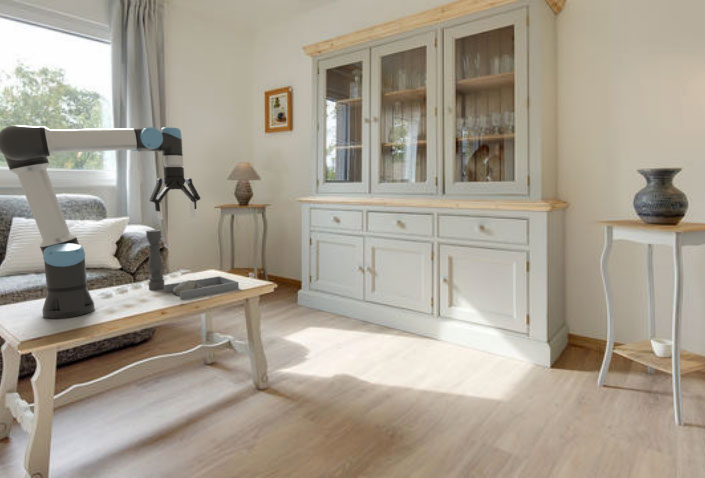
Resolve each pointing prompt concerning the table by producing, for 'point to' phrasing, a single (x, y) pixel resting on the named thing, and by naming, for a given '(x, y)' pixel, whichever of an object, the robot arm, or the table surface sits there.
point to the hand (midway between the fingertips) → (177, 218)
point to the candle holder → (155, 260)
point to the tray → (225, 286)
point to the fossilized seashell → (186, 286)
